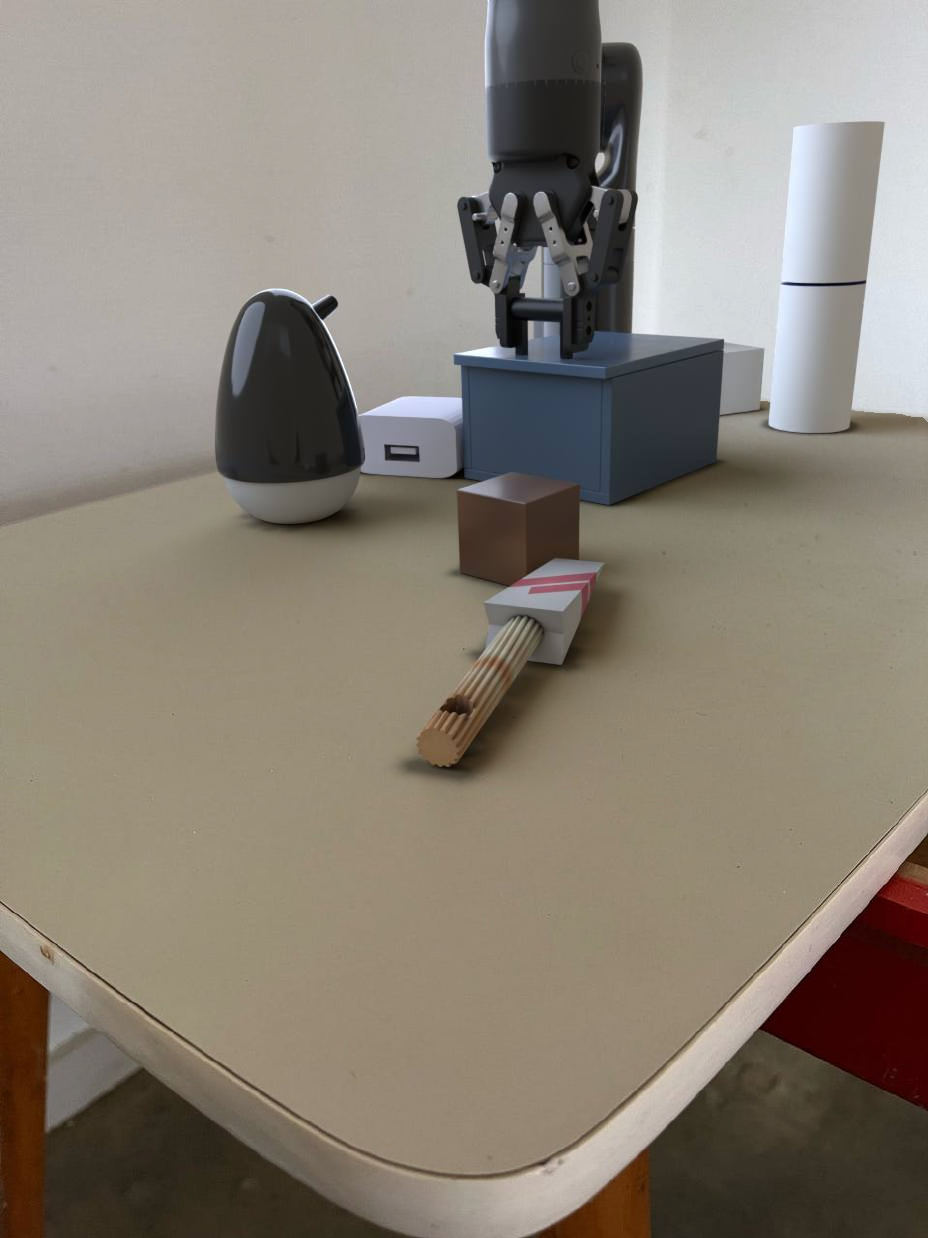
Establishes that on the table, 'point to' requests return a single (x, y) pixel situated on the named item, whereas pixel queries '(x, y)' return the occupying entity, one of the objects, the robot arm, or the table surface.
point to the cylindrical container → (824, 274)
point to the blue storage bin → (593, 425)
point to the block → (516, 525)
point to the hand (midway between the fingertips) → (543, 347)
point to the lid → (599, 361)
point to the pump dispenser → (286, 412)
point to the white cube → (741, 378)
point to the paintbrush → (511, 650)
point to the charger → (414, 437)
